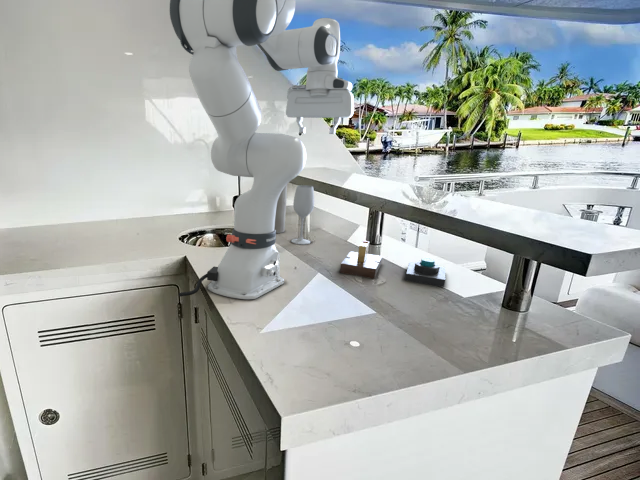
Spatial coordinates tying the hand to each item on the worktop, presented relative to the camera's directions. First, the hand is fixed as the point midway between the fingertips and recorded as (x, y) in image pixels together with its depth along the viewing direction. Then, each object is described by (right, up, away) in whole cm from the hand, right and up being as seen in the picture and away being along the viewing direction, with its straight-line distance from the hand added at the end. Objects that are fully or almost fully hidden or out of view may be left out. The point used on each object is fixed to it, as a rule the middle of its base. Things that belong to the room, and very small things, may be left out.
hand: (316, 133), depth 117 cm
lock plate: (+14, -42, +1) cm, 44 cm away
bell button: (+31, -41, -6) cm, 51 cm away
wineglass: (0, -32, +29) cm, 43 cm away
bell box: (+31, -44, -5) cm, 54 cm away
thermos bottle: (-9, -26, +44) cm, 52 cm away
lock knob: (+14, -39, 0) cm, 41 cm away
